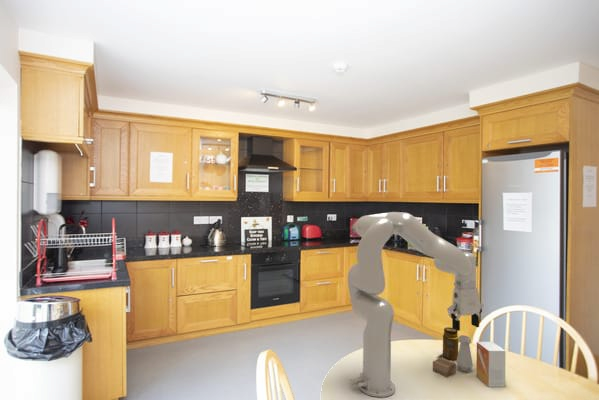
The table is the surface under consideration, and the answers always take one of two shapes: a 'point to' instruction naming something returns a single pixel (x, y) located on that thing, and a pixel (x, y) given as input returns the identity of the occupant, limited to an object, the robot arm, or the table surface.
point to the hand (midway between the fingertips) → (465, 327)
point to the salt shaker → (464, 354)
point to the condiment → (450, 345)
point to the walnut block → (444, 367)
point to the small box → (490, 364)
